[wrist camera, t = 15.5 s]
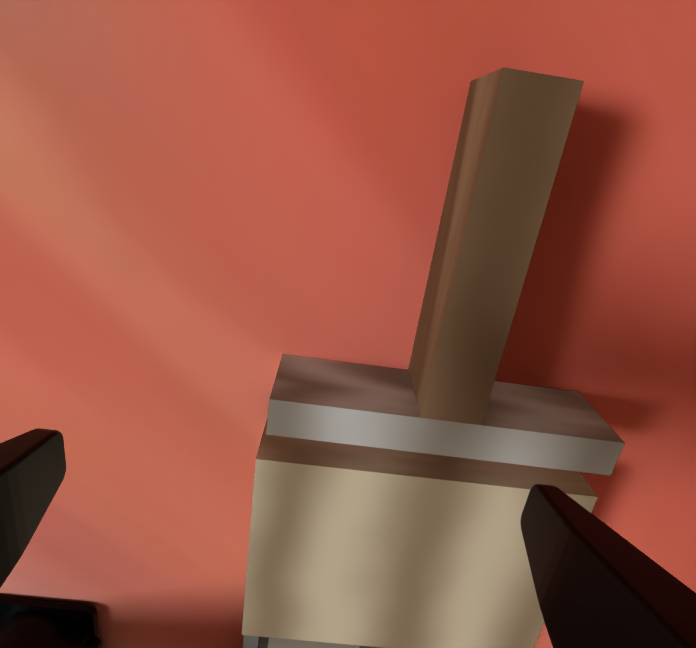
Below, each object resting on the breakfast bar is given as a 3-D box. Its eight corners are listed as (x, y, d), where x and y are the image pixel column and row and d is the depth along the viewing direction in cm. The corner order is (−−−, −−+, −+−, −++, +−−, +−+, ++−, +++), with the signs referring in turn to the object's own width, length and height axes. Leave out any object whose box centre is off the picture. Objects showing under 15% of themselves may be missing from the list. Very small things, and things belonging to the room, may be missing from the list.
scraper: (279, 383, 22) (266, 434, 18) (313, 55, 17) (304, 34, 13) (567, 419, 23) (610, 475, 19) (681, 116, 18) (770, 112, 14)
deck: (252, 582, 27) (241, 634, 24) (266, 418, 23) (256, 459, 20) (509, 607, 28) (527, 660, 25) (568, 453, 23) (598, 497, 21)
